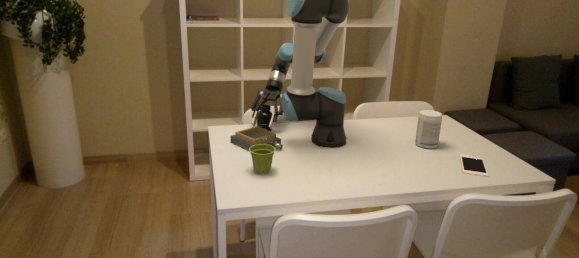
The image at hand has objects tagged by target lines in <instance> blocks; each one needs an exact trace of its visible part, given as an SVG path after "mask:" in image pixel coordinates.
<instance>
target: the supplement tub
mask: <svg viewBox="0 0 579 258" xmlns="http://www.w3.org/2000/svg"><path fill="white" fill-rule="evenodd" d="M442 121H443V114H442V113H441V111H437V110H432V109H423V110H419V113H418V117H417V125H416V132H415V133H416V134H415V140H414V142H415V145H416V146H417V147H420V148H423V149H430V150H431V149H436V148H437V147H438V146H439V140H440V133H441V128H442Z"/></svg>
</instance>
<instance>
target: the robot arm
mask: <svg viewBox="0 0 579 258" xmlns="http://www.w3.org/2000/svg"><path fill="white" fill-rule="evenodd" d="M286 1H287V2H286V14H287V15H288V17H290V18H291V19H290V21H291V23H292V24H293V25H294V32H293V33H294V35H293V43H290V42H284V43H283V44H282V45H281V46H280V47H279V49H278V50H277V51H278V52H277V53H276V55H275V56H274V60H273V63H272V66H271V70H270V73H269V76H268V79H267V81H266V84H265V88H264V89H263V91H260V90H257V93H256V96H255V98H254V100H253V102H252V104H251V106H250V111H252V115H251V117H252V121H251V125H252V127H255V126H256V125H257V113H258V112H259V111H260V106H261V105H266V103H268V102H273V108H274V109H273V110H274V113H273V112H272V118H271V121H270V124H269V127H270V129H272V130H273V127H274V123H277V121H278V117H279V116H283V115H284V117H285V119H286V120H287V121H288V122H304V121H307V122H308V121H316V122H315V126H314V129H313V130H312V133H311V138H310V141H311V143H312V145H316V146H317V147H320V148H327V149H337V148H342V147H345V145H346V144H347V136H346V131H345V128H344V124H345V123H344V121H345V111H346V104H347V102H346V100H347V99H346V98H347V97H346V94H345V92H343V91H342V90H340V89H337V88H333V87H327V86H326V87H324V86H321V87H319V88H317V91H316V88H315V87H313V82H314V81H313V78H314V69H315V68H314V67H315V64H321V63H324V62H325V61H326V58H327V50H326V48H327V46H328V45H329V43H330V41H331V39H332V38H333V36H334V34H335V32H336V31H337V29H338V28H339V26H340V25H341V24H342V23H344V22H345V21H346V18H347V17H348V14H349V12H350V1H349V0H286ZM290 67H291V78H290V80H291V81H290V85H288V86H287V87H286V92H283V93H282V91H283V86H284V83H285V81H286V77H287V74H288V71H289V68H290ZM261 98H262V99H261ZM278 99H280V101H279V108H278Z"/></svg>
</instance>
